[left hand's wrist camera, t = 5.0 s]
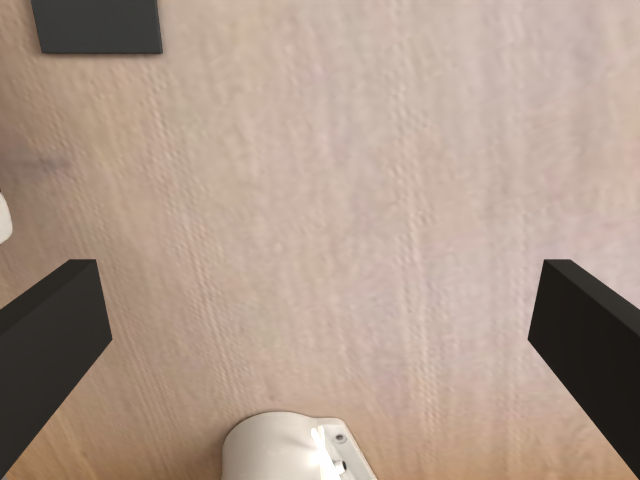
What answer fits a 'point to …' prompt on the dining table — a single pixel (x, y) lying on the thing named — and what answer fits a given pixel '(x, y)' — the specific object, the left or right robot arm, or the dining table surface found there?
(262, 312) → the dining table surface
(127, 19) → the mat
